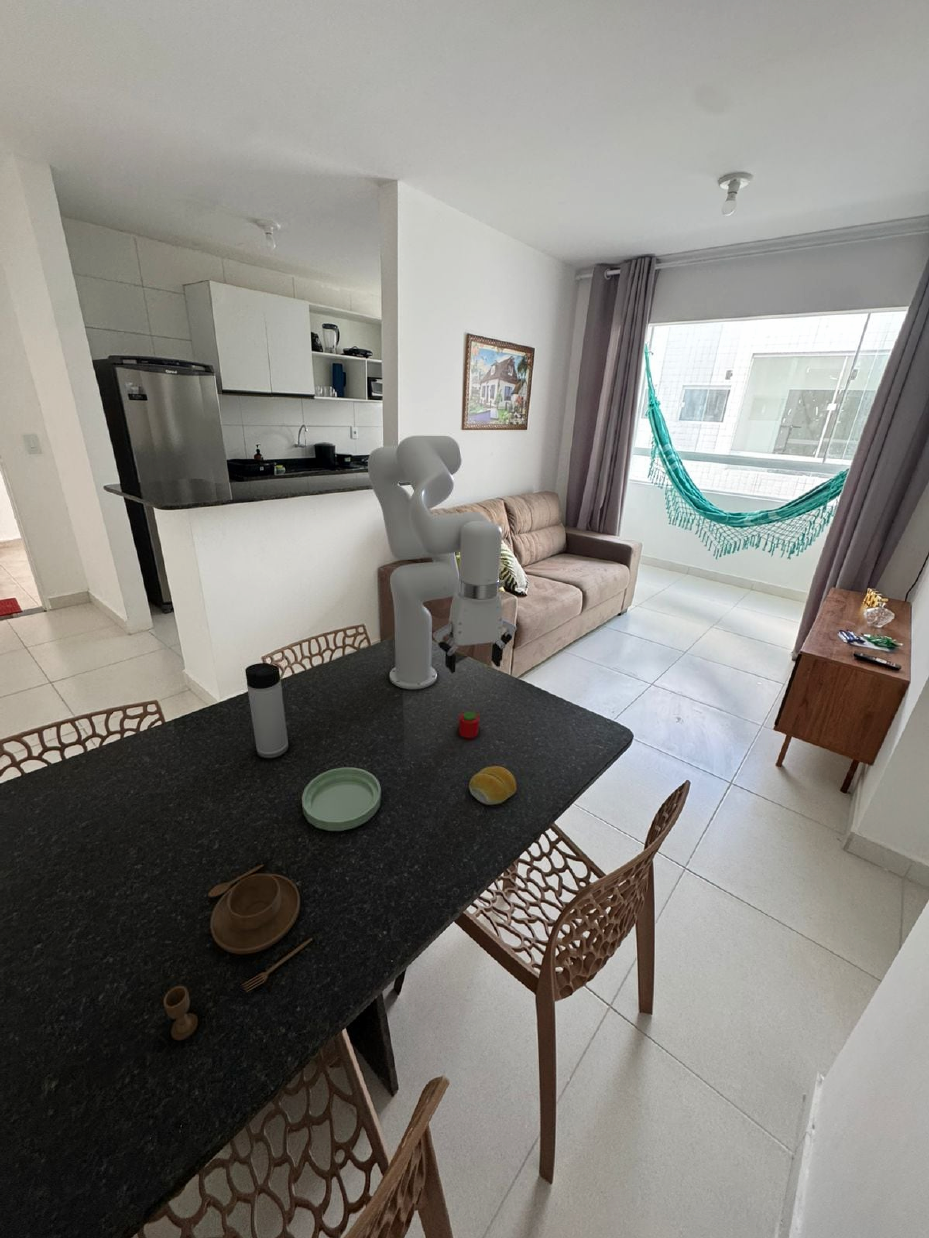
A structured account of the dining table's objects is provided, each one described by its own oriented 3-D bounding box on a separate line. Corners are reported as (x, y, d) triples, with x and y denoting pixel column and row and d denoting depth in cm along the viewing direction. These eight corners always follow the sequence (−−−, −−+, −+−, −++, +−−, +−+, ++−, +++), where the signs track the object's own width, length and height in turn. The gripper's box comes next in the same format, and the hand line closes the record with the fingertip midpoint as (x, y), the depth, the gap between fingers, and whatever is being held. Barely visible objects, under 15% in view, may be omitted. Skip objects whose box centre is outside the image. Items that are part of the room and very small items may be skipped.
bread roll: (523, 789, 100) (525, 773, 99) (493, 812, 94) (495, 796, 93) (491, 768, 105) (492, 752, 104) (461, 789, 99) (462, 773, 98)
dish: (300, 786, 98) (299, 775, 97) (373, 771, 103) (373, 761, 102) (306, 841, 86) (304, 830, 85) (387, 822, 91) (387, 811, 90)
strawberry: (456, 728, 118) (457, 711, 116) (474, 725, 119) (475, 708, 117) (462, 739, 114) (463, 722, 112) (481, 736, 115) (482, 719, 113)
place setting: (328, 931, 72) (325, 902, 70) (178, 1050, 59) (168, 1019, 56) (267, 858, 83) (263, 831, 81) (128, 944, 69) (118, 915, 67)
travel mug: (249, 754, 106) (235, 670, 98) (271, 736, 112) (260, 656, 104) (273, 763, 104) (261, 677, 96) (294, 744, 110) (285, 662, 102)
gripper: (511, 578, 103) (505, 653, 110) (429, 584, 97) (427, 663, 104) (528, 591, 96) (520, 670, 103) (440, 598, 91) (438, 681, 98)
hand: (473, 666), depth 104 cm, fingers open, 9 cm apart
